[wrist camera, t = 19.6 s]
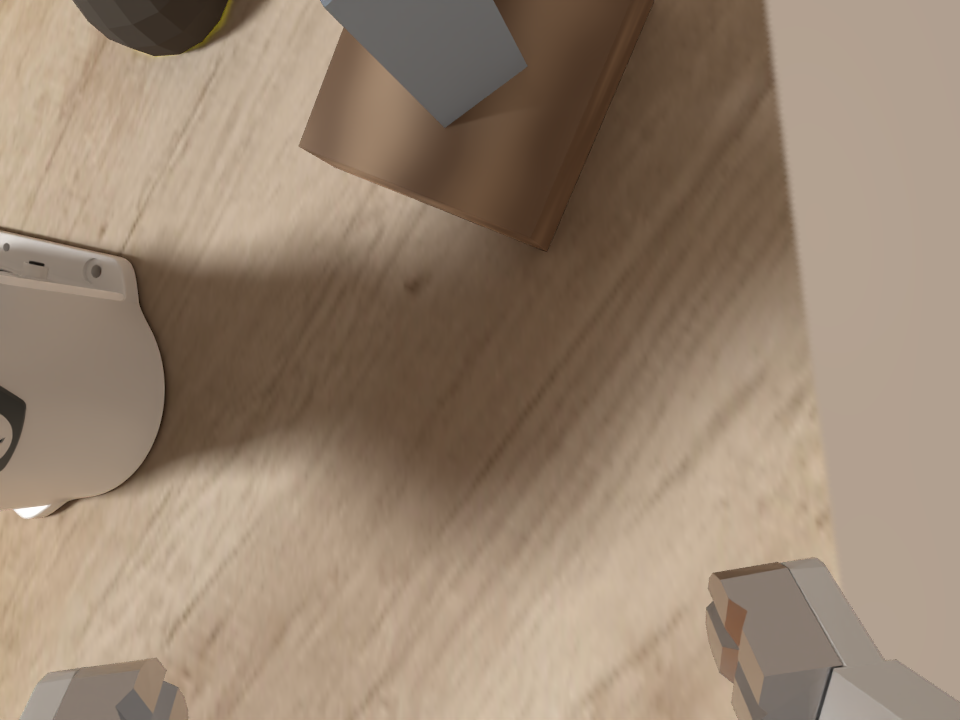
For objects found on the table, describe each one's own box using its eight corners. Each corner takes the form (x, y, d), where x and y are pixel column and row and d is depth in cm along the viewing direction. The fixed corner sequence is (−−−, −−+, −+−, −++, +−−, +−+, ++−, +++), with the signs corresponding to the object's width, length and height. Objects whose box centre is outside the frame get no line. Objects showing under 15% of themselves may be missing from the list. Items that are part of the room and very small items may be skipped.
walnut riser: (334, 167, 41) (298, 146, 37) (424, -64, 39) (396, -110, 35) (546, 251, 37) (530, 238, 33) (654, 0, 36) (650, -45, 32)
